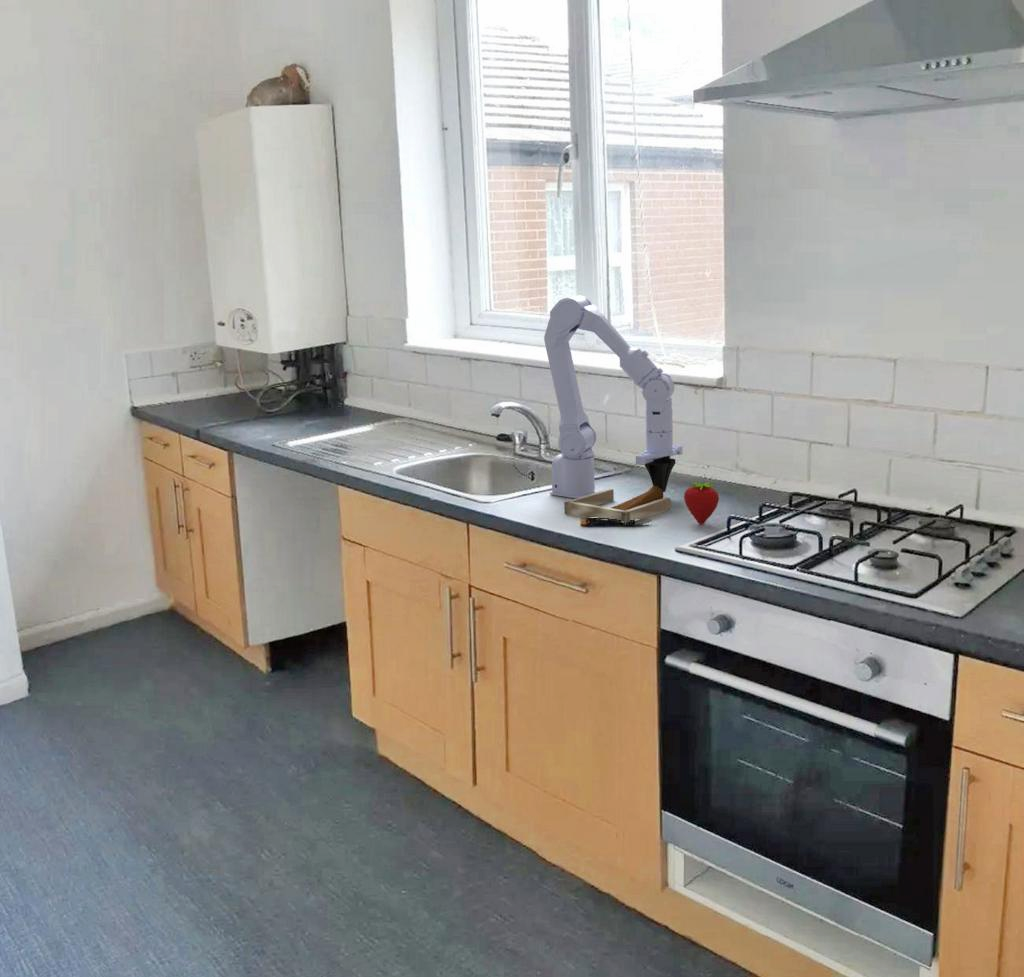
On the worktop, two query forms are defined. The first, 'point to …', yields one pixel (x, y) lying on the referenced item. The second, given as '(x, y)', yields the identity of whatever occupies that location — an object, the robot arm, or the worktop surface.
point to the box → (589, 508)
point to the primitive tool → (642, 499)
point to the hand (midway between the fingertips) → (659, 491)
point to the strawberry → (701, 500)
